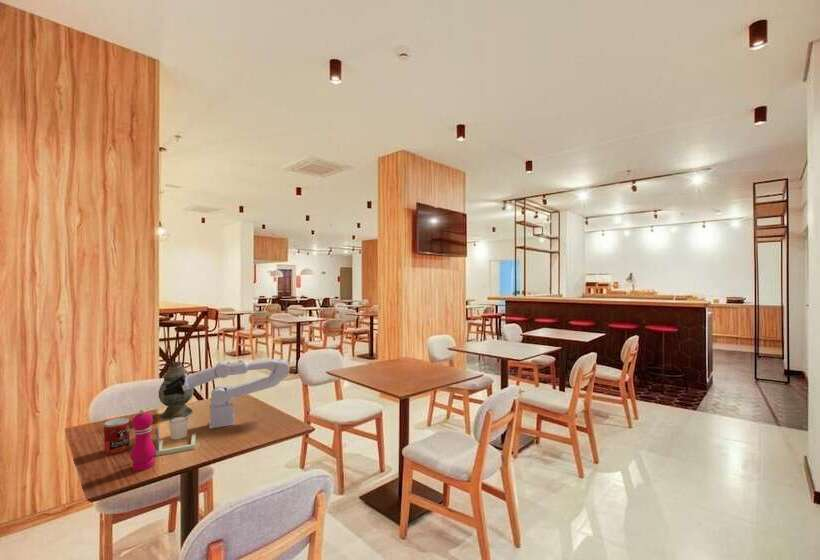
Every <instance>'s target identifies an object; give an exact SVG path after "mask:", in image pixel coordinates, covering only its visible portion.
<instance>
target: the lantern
mask: <svg viewBox="0 0 820 560" xmlns="http://www.w3.org/2000/svg"><path fill="white" fill-rule="evenodd" d="M185 373H186V374H187V375H190V374H191V373H190V371H188V370H186V368H184V365H183V364H182V363H180V362H178V361H175V362H174V363H172V364H171V365H169V366H168V370H167V371H166V373H165V374H164V375H163V377H162V379H163V381H162V383H161V385H160V387H159V390H158V398H159V401H160V403H162V404H163V405H164V406H166V409H165V410H164V411H163V412H162V413H161V414H160V416H159V418H160V419H161V420H165V421H166V420H168V421H170V420H171V419H174V418H178V417H188V415H189V416H191V415H192V414H193V412H194V410H193V409H192V408H190V407H189V406H188V405H187V404H188V402H189V401H190V400H191V399H192V397H193V395H194V389H195V387H193V388H192V389H187V390H185V391H184V394H174V395H168V396H165V395H164V393H163V391H164V390H166V389H167V388H166V385H168V384H169V383H171V382H173V381H175V380H176V379H178V378H179V377H180V376H181V375H183V378H185V376H184V374H185ZM190 414H191V415H190Z"/></svg>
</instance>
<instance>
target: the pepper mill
mask: <svg viewBox="0 0 820 560" xmlns="http://www.w3.org/2000/svg"><path fill="white" fill-rule="evenodd" d="M131 421H132V422H131V425H132V427H133V428H134V429H133V434H134V435H135V441H134V444H133V447H132V449H131V451H130V452H131V453H130V457H129V459H130V460H131V461H132V465H131V466H132V469H131V470H132V471H135V472H137V471H138V472H139V471H145V470H147V469H150V468H152V467H153V466H154V465H155V459H154V457H155V456H156V450H157V449H156V447H155V444H154V442H153V441H152V439H151V435H150V431H151V429H152V424H153V422H154V419H153V415H152V414H151V413H150V412H149V413H148V412H146V409H144V408H141V409H140V410H139V412H138V413H137V414H136V415H135V416H134V417H133V418H132V420H131Z"/></svg>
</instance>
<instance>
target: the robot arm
mask: <svg viewBox="0 0 820 560" xmlns="http://www.w3.org/2000/svg"><path fill="white" fill-rule="evenodd" d="M254 370H255V371H256V370H268V371H271V372H270V373H269V375H268V376H266V377H262V378H260V379H255V380H252V381H249V382H248V381H247V382H244V383H240V384H237V385H234V386H233V385H231V386H229V385H228V386H217V387H215V388H214V389H212V391H211V392H210V393H211V396H210V403H209V419H210V420H209V422H208V423H209V424H208V429H215V428H222V427H228V426H233V425H234V419H235V415H234V403H233V402H231V401H232V400H234V399H235V398H238V397H242V396H245V395H250V394H252V393H255V392H261V391H263V390H266V389H270V388H274V387H277V385H279V384H280V383H281V382H282V381H283V380H284V379H285V378H287V377H288V375H289V373H290V371H291V366H290V365H289V364H288V362H287V360H286V359H284V358H280V359H279V358H278V359H277V358H272V359H266V360H259V361H254V362H247V361H246V360H243V359H239V360H238V361H232V362H230V361H227V362H224V361H223V362H218V363H216V365H215V366H212V367H208V368H204V369H202V370H199V371H196V372H194V373H190V374H189V375H187V374H186V373H185V374H184V376H185V378H183V375H181V376H180V377H179V378H178V379H176V380H175V381H173V382H171V383H169V384H168V385H166V388H167V389H166V390H164V391H163V393H164V395H165V396H168V395H174V394H184V391H185V390H187V389H192V388H193V387H194V388H196V387H198V386H201V385H203V384H206V383H209V382H212V381H215V380H217V379H219V378H220V379H221V378H222V379H225V378H227V377H228V376H235V375H243V374H247V373H248V372H249V371H254Z"/></svg>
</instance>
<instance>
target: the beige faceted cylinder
mask: <svg viewBox="0 0 820 560" xmlns="http://www.w3.org/2000/svg"><path fill="white" fill-rule="evenodd" d="M188 423H189V417H188V416H186V417H178V418H174V419H171V420H168V425H169V434H170V439H171V440H180V439H184V438H186V437H187V435H188V425H189V424H188Z"/></svg>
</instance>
